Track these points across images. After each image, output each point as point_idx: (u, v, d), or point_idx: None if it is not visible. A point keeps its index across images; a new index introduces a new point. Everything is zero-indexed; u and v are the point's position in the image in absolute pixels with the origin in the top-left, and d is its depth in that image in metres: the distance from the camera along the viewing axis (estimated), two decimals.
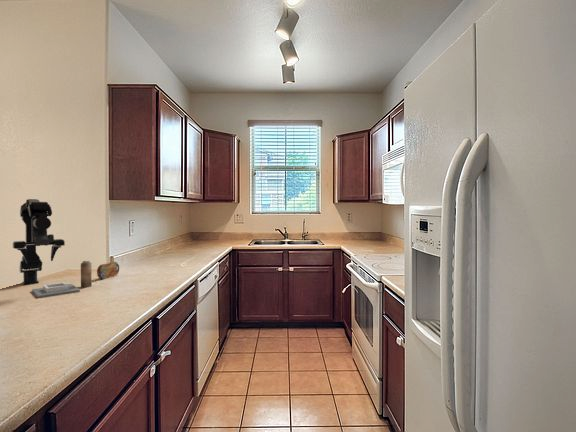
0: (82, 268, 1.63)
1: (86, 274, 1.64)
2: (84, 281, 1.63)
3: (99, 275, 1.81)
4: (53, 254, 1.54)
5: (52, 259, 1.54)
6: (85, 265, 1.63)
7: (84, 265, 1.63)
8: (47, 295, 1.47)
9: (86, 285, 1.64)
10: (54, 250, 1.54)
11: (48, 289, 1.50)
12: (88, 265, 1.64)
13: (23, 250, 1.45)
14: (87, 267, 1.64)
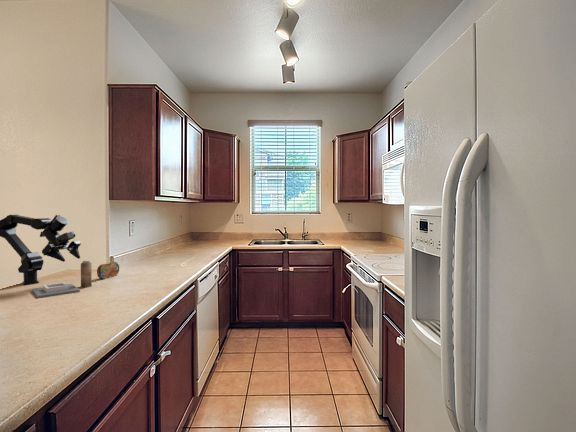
0: (82, 268, 1.63)
1: (86, 274, 1.64)
2: (84, 281, 1.63)
3: (99, 275, 1.81)
4: (77, 252, 1.72)
5: (79, 256, 1.71)
6: (85, 265, 1.63)
7: (84, 265, 1.63)
8: (47, 295, 1.47)
9: (86, 285, 1.64)
10: (76, 249, 1.72)
11: (48, 289, 1.50)
12: (88, 265, 1.64)
13: (57, 249, 1.61)
14: (87, 267, 1.64)
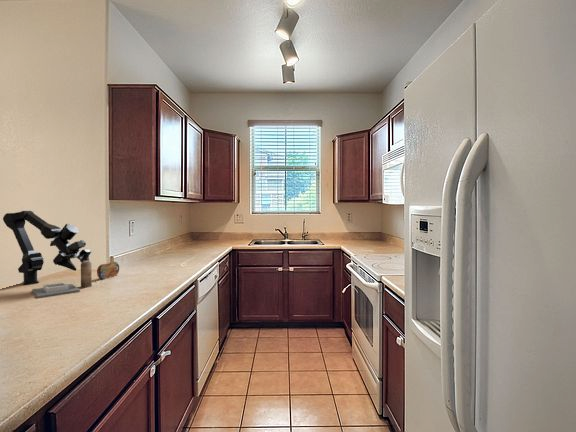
0: (82, 268, 1.63)
1: (86, 274, 1.64)
2: (84, 281, 1.63)
3: (99, 275, 1.81)
4: (88, 260, 1.71)
5: None
6: (85, 265, 1.63)
7: (84, 265, 1.63)
8: (47, 295, 1.47)
9: (86, 285, 1.64)
10: (87, 257, 1.72)
11: (48, 289, 1.50)
12: (88, 265, 1.64)
13: (68, 258, 1.60)
14: (87, 267, 1.64)
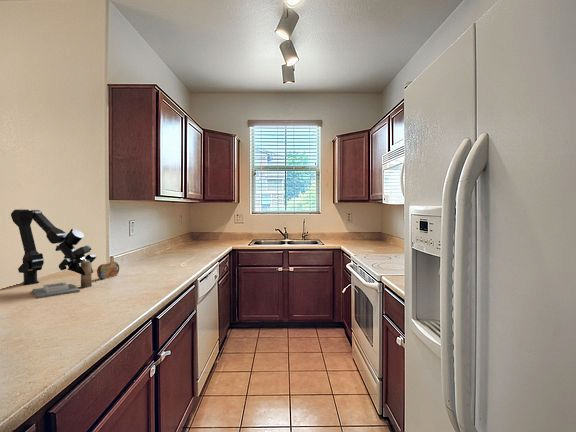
0: (82, 268, 1.63)
1: (86, 274, 1.64)
2: (84, 281, 1.63)
3: (99, 275, 1.81)
4: None
5: (92, 270, 1.68)
6: (85, 265, 1.63)
7: (84, 265, 1.63)
8: (47, 295, 1.47)
9: (86, 285, 1.64)
10: None
11: (48, 289, 1.50)
12: (88, 265, 1.64)
13: (77, 262, 1.62)
14: (87, 267, 1.64)
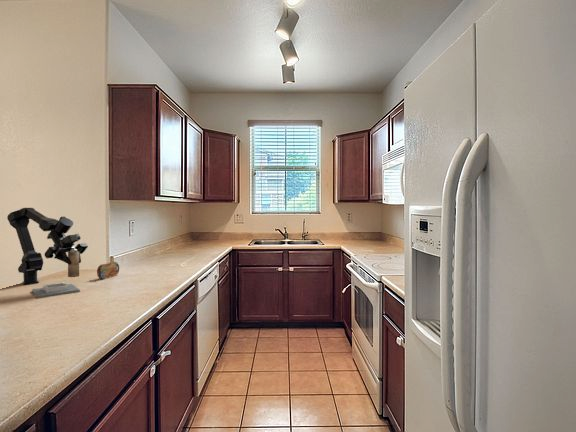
0: (69, 257, 1.58)
1: (73, 263, 1.59)
2: (70, 270, 1.58)
3: (99, 275, 1.81)
4: (79, 256, 1.63)
5: (80, 260, 1.63)
6: (71, 254, 1.58)
7: (71, 254, 1.58)
8: (47, 295, 1.47)
9: (72, 275, 1.59)
10: None
11: (48, 289, 1.50)
12: (75, 254, 1.59)
13: (63, 251, 1.57)
14: (74, 256, 1.59)
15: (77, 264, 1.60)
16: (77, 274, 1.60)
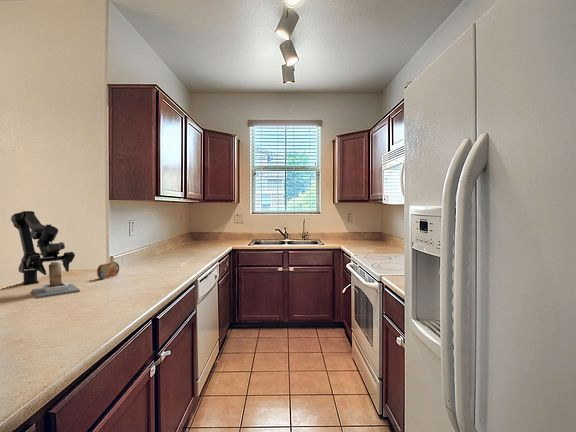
0: (49, 270, 1.53)
1: (53, 276, 1.53)
2: (51, 283, 1.53)
3: (99, 275, 1.81)
4: (67, 264, 1.59)
5: (68, 269, 1.58)
6: (51, 267, 1.53)
7: (50, 267, 1.53)
8: (47, 295, 1.47)
9: None
10: (67, 261, 1.60)
11: (48, 289, 1.50)
12: (54, 267, 1.53)
13: (39, 261, 1.51)
14: (53, 269, 1.53)
15: (58, 277, 1.54)
16: None
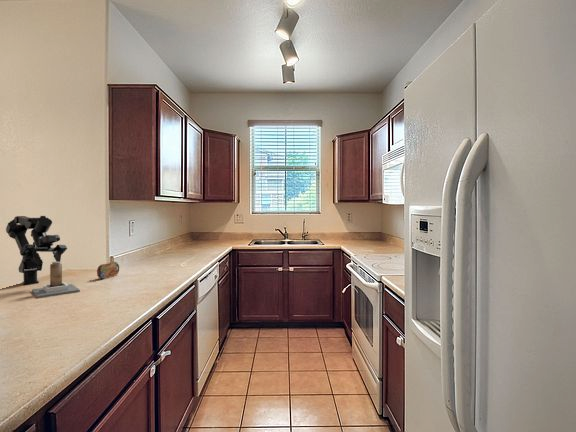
0: (50, 269, 1.54)
1: (54, 275, 1.53)
2: (51, 283, 1.53)
3: (99, 275, 1.81)
4: (59, 257, 1.65)
5: (59, 261, 1.64)
6: (53, 266, 1.53)
7: (52, 266, 1.53)
8: (47, 295, 1.47)
9: None
10: (59, 253, 1.65)
11: (48, 289, 1.50)
12: (56, 266, 1.54)
13: (34, 250, 1.55)
14: (55, 269, 1.54)
15: (59, 277, 1.55)
16: None
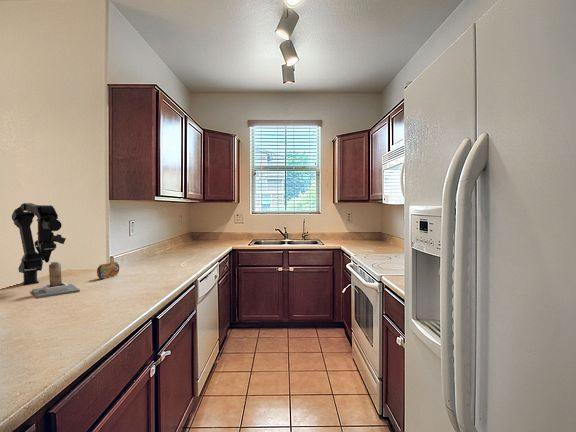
0: (49, 270, 1.53)
1: (53, 276, 1.53)
2: (51, 283, 1.53)
3: (99, 275, 1.81)
4: None
5: None
6: (51, 267, 1.53)
7: (50, 266, 1.53)
8: (47, 295, 1.47)
9: None
10: None
11: (48, 289, 1.50)
12: (55, 266, 1.53)
13: None
14: (54, 269, 1.53)
15: (58, 277, 1.55)
16: None
